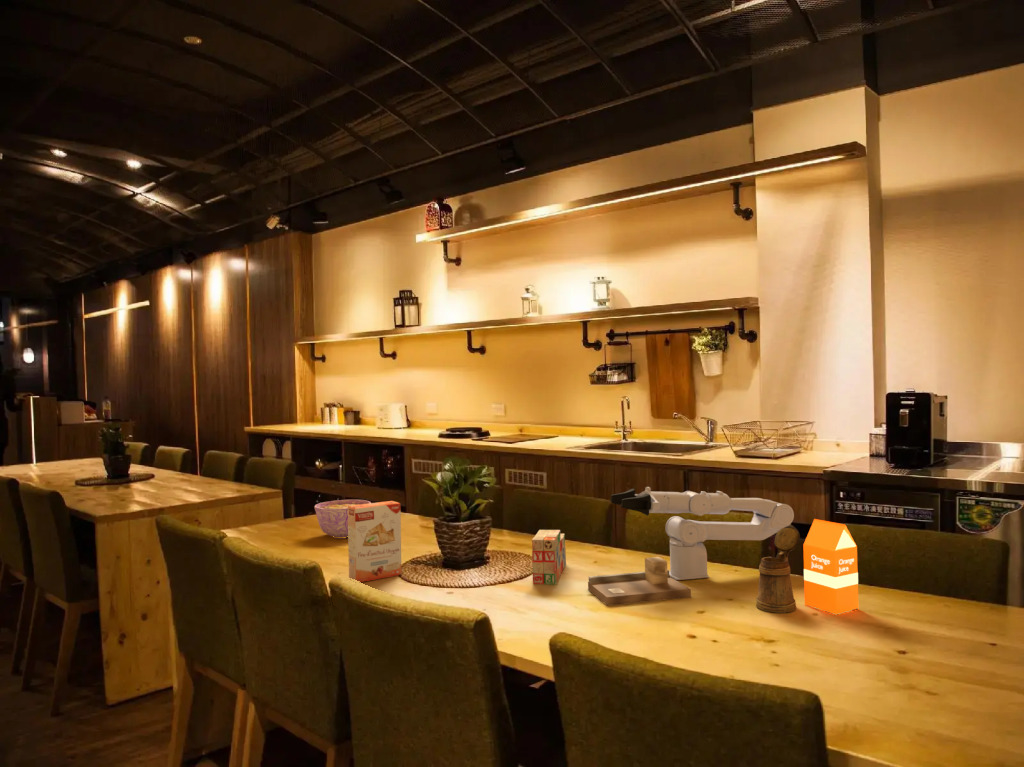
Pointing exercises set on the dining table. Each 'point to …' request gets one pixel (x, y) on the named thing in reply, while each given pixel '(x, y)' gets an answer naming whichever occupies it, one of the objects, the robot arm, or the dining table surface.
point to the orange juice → (830, 568)
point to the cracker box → (374, 540)
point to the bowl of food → (335, 516)
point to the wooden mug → (778, 575)
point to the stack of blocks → (548, 556)
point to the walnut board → (634, 588)
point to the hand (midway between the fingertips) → (616, 501)
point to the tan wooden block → (656, 570)
